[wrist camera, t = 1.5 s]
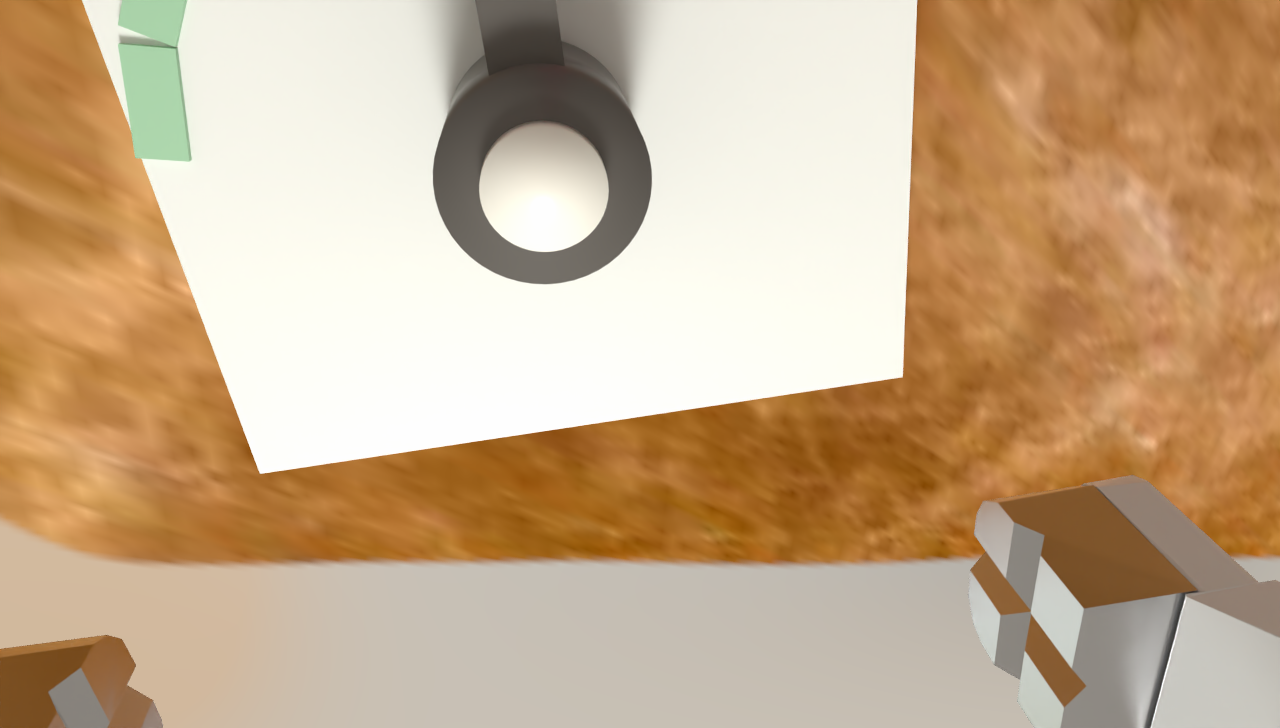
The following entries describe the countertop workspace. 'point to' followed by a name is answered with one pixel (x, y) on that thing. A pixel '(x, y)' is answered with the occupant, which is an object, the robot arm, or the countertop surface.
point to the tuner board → (473, 295)
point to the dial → (539, 153)
